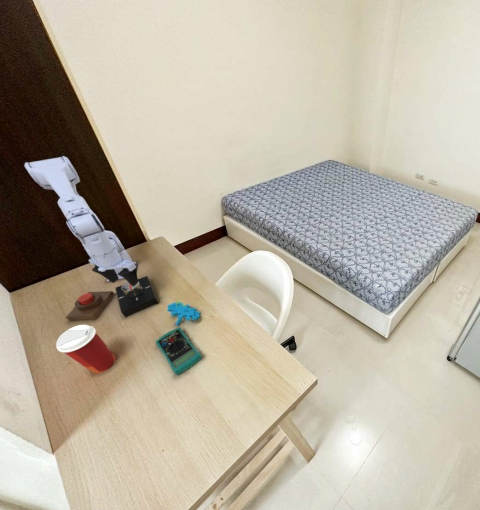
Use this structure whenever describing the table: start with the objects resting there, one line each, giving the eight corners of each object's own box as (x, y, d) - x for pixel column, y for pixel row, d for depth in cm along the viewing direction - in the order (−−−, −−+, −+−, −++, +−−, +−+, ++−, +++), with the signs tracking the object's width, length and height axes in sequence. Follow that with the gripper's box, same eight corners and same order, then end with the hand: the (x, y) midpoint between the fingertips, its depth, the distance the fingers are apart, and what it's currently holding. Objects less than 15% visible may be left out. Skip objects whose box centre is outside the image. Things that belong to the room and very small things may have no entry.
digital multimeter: (181, 330, 84) (178, 324, 82) (203, 359, 77) (200, 353, 75) (157, 345, 80) (152, 339, 78) (177, 377, 72) (173, 372, 70)
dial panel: (119, 293, 95) (115, 287, 93) (150, 281, 100) (146, 275, 99) (125, 317, 87) (120, 311, 85) (159, 303, 92) (155, 297, 90)
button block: (91, 296, 94) (85, 288, 91) (115, 295, 95) (109, 287, 92) (69, 321, 85) (62, 313, 83) (96, 320, 86) (89, 312, 84)
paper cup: (122, 348, 79) (96, 319, 70) (116, 371, 73) (87, 343, 64) (91, 356, 76) (60, 328, 67) (82, 381, 71) (46, 353, 62)
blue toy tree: (205, 318, 86) (172, 314, 78) (196, 334, 86) (163, 331, 78) (195, 302, 93) (165, 296, 85) (187, 316, 93) (156, 312, 85)
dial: (125, 291, 92) (119, 283, 90) (142, 284, 95) (137, 277, 92) (127, 300, 89) (121, 292, 87) (144, 293, 92) (139, 285, 89)
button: (85, 296, 89) (82, 293, 88) (96, 296, 89) (94, 292, 88) (78, 305, 86) (75, 301, 85) (90, 304, 87) (86, 301, 85)
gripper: (70, 255, 77) (96, 287, 86) (113, 262, 75) (135, 294, 84) (91, 241, 83) (114, 273, 91) (132, 247, 81) (151, 279, 89)
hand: (125, 282), depth 88 cm, fingers open, 7 cm apart
